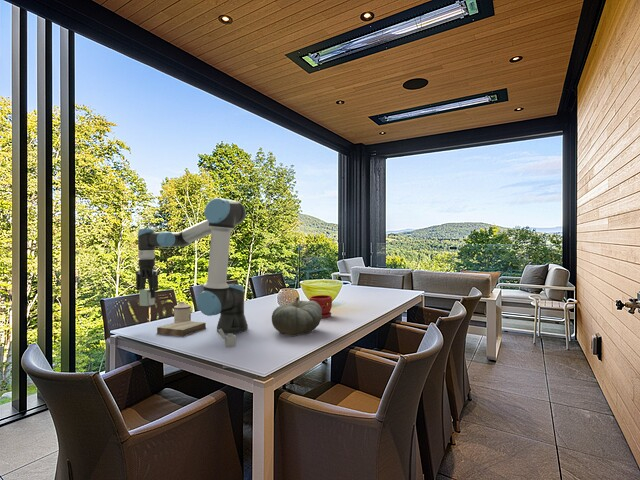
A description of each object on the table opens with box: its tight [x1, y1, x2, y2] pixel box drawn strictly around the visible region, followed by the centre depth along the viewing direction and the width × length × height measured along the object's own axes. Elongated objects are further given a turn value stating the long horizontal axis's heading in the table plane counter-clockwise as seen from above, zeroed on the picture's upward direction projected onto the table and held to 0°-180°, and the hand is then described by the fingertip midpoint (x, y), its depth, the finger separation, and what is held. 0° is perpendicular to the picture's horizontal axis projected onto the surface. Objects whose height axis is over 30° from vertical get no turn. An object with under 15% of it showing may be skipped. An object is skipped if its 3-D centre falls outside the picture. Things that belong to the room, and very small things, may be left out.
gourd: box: [271, 297, 323, 337], centre depth 168 cm, size 25×25×17 cm
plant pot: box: [309, 294, 333, 319], centre depth 204 cm, size 13×13×12 cm
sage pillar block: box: [138, 288, 156, 307], centre depth 176 cm, size 5×5×8 cm
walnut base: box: [156, 320, 207, 337], centre depth 173 cm, size 16×16×3 cm
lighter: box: [218, 328, 237, 349], centre depth 146 cm, size 7×2×8 cm, turn 122°
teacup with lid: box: [173, 300, 192, 323], centre depth 194 cm, size 12×9×12 cm
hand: (147, 304), depth 176 cm, fingers closed on sage pillar block, 5 cm apart
